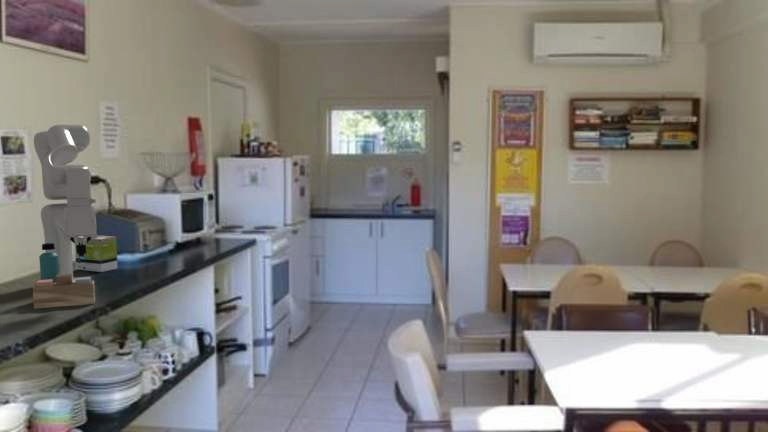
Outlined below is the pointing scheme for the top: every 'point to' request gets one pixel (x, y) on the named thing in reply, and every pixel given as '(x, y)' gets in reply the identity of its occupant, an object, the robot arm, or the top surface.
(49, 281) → the salmon pink cube
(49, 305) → the wooden compartment box
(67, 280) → the brown cube
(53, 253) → the beverage bottle
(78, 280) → the grey cube
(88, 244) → the tea box
